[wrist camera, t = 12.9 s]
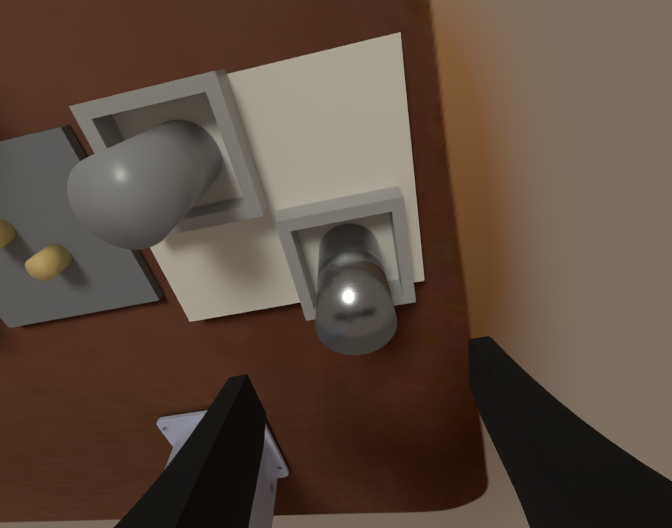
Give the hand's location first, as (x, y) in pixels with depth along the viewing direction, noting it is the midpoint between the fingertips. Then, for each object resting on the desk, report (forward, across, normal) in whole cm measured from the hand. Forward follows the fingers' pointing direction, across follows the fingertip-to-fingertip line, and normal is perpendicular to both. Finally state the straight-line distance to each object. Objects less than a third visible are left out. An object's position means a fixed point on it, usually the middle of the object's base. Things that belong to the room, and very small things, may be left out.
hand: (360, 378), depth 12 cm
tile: (+10, +17, -4) cm, 20 cm away
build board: (+10, +3, -3) cm, 11 cm away
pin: (+9, 0, 0) cm, 9 cm away
